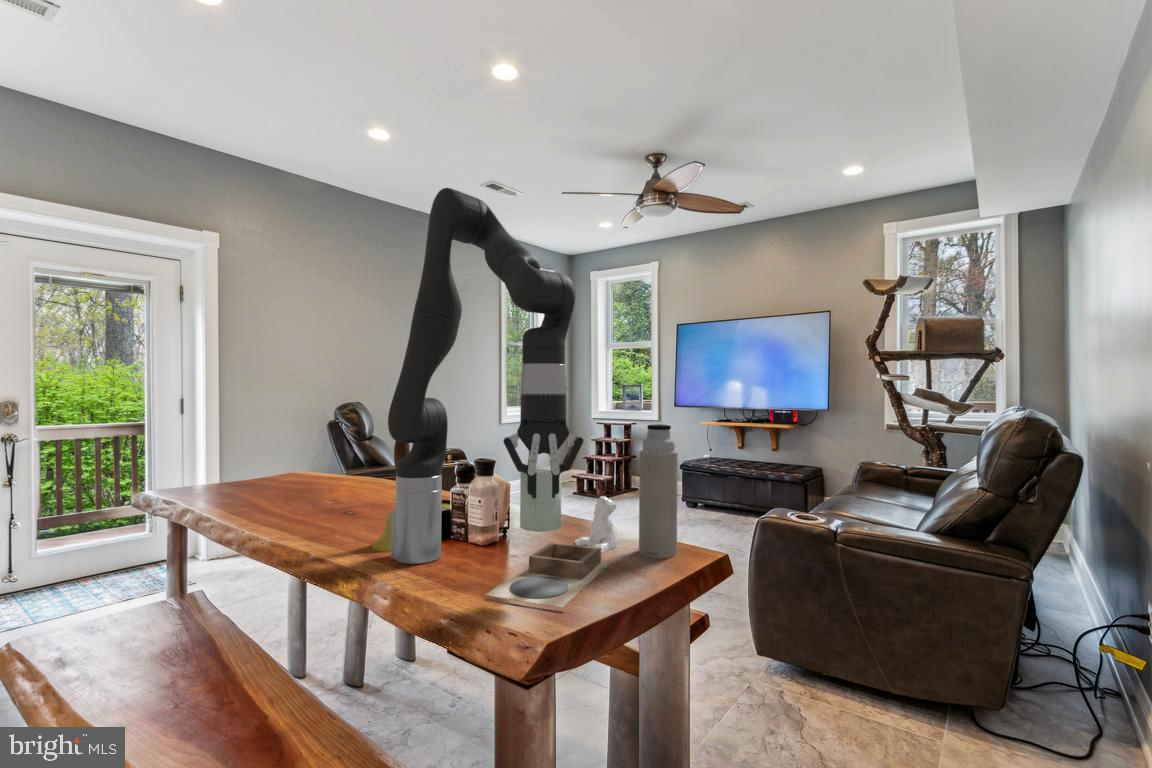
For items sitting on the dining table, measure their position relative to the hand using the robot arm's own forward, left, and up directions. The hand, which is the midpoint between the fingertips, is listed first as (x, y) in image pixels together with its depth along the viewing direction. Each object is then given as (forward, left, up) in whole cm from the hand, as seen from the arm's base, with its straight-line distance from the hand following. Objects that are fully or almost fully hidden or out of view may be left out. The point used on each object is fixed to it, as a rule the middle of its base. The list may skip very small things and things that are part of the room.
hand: (542, 496), depth 93 cm
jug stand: (-3, +10, -18) cm, 20 cm away
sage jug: (-1, +3, -6) cm, 7 cm away
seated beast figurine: (-2, +33, -18) cm, 38 cm away
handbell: (-45, +20, -18) cm, 52 cm away
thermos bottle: (+11, +33, -18) cm, 39 cm away
